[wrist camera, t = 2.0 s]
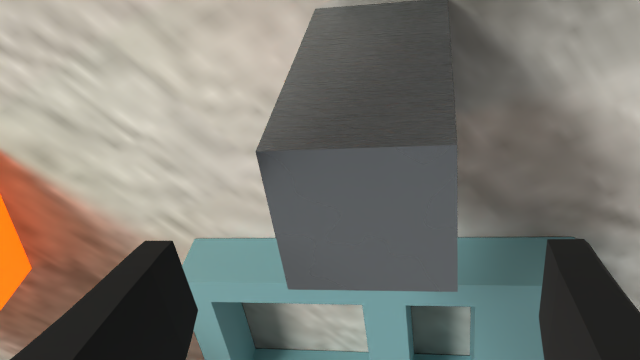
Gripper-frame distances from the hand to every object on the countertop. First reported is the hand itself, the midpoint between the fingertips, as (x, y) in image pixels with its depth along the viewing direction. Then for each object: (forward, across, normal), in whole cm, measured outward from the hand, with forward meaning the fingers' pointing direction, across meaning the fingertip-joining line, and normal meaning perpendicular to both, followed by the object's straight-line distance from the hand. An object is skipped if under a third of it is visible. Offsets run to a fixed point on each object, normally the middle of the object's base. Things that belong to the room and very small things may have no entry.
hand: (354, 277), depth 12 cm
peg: (+10, 0, 0) cm, 10 cm away
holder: (+10, +1, +12) cm, 15 cm away
